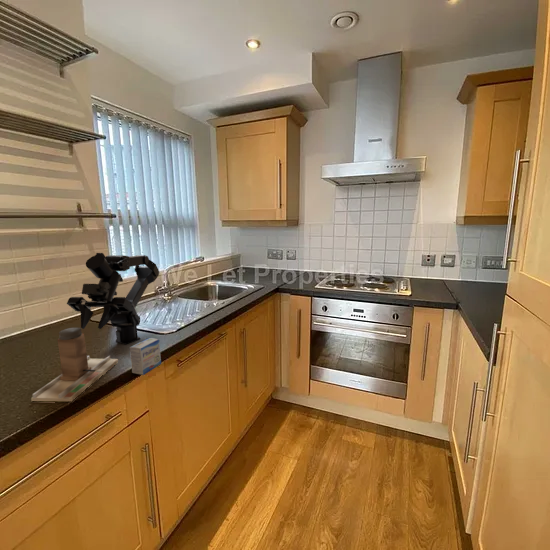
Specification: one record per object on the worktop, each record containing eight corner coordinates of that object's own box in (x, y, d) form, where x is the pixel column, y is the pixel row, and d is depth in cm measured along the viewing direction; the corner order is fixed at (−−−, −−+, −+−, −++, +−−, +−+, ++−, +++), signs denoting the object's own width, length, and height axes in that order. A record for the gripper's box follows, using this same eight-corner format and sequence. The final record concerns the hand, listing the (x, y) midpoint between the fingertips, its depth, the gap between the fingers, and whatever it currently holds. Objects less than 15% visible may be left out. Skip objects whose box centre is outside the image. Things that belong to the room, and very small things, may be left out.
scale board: (87, 361, 99) (86, 355, 99) (118, 362, 99) (117, 356, 98) (31, 401, 78) (30, 394, 77) (71, 402, 77) (70, 395, 77)
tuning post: (74, 369, 91) (68, 326, 88) (101, 370, 91) (96, 327, 88) (60, 380, 85) (53, 334, 83) (88, 380, 85) (82, 335, 82)
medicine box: (143, 376, 90) (140, 348, 89) (131, 373, 92) (129, 346, 90) (161, 364, 98) (159, 339, 96) (150, 361, 99) (148, 337, 98)
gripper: (66, 272, 97) (44, 316, 88) (123, 272, 96) (107, 317, 87) (85, 290, 106) (67, 332, 97) (137, 290, 105) (124, 332, 97)
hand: (90, 328), depth 94 cm, fingers open, 5 cm apart
